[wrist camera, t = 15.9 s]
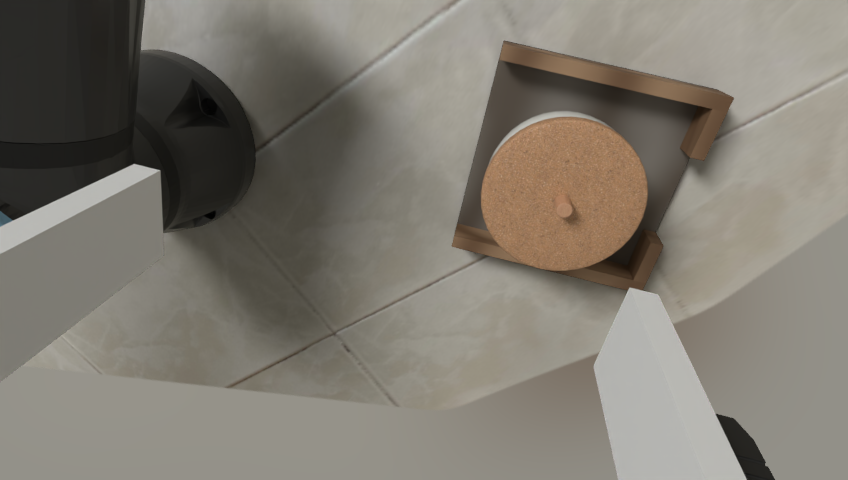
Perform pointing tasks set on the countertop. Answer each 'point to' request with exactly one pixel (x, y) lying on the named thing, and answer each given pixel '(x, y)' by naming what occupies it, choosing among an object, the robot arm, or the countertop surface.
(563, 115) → the lidded jar
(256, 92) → the countertop surface
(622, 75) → the holder
